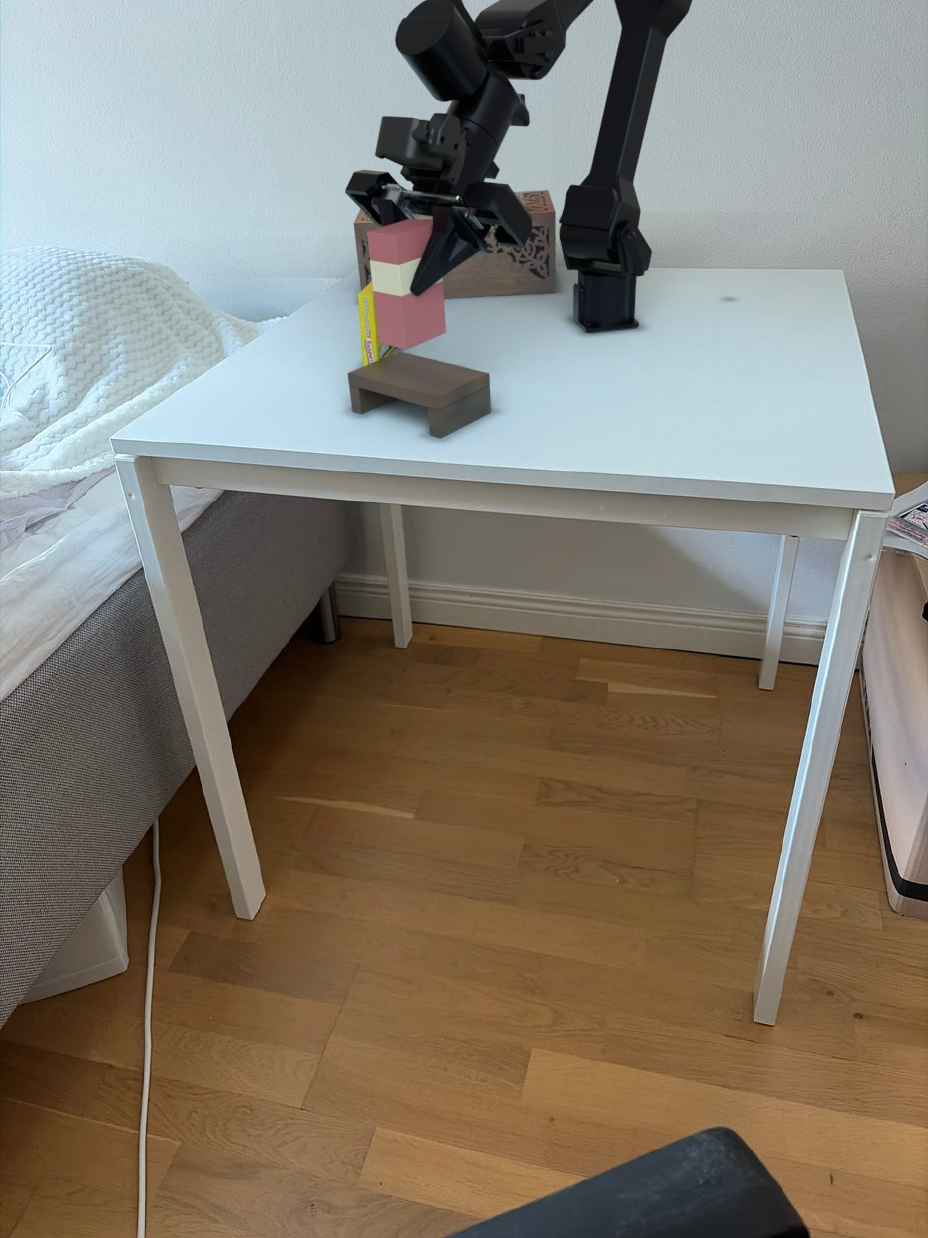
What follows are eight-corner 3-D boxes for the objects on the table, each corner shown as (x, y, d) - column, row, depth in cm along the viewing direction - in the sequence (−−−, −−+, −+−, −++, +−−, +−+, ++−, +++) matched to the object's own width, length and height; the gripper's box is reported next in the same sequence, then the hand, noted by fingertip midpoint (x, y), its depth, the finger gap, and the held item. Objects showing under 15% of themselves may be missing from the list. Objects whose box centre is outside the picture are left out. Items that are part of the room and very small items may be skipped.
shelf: (403, 388, 101) (399, 350, 99) (491, 412, 94) (489, 372, 92) (352, 411, 96) (347, 372, 94) (440, 438, 90) (437, 397, 87)
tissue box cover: (548, 264, 139) (548, 189, 133) (555, 292, 127) (555, 211, 121) (372, 273, 140) (364, 200, 134) (362, 302, 128) (353, 223, 122)
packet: (419, 326, 94) (409, 218, 88) (446, 332, 92) (439, 222, 86) (378, 342, 90) (366, 231, 85) (406, 349, 88) (395, 235, 83)
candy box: (381, 370, 106) (372, 294, 101) (362, 370, 106) (353, 294, 102) (416, 324, 119) (410, 255, 114) (399, 324, 119) (393, 255, 115)
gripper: (346, 72, 86) (273, 227, 86) (508, 75, 76) (425, 251, 75) (413, 153, 96) (347, 293, 95) (566, 166, 85) (492, 324, 85)
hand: (397, 290), depth 87 cm, fingers closed on packet, 4 cm apart
